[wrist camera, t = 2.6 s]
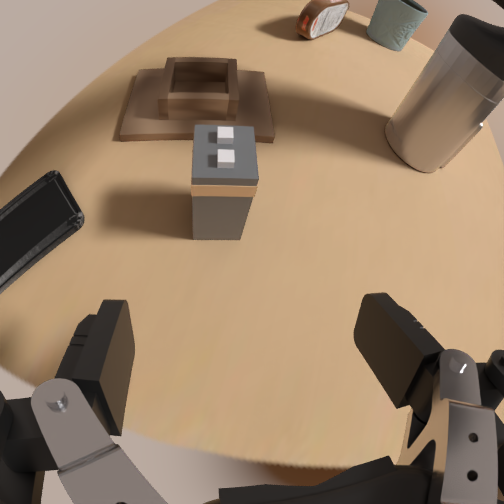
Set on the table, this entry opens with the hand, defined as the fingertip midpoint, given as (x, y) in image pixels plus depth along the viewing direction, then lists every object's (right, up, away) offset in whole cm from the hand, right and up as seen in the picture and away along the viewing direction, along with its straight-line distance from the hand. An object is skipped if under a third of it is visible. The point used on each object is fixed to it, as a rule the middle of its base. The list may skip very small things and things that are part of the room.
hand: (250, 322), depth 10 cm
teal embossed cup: (+28, +47, +40) cm, 68 cm away
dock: (-6, +19, +22) cm, 30 cm away
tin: (+12, +41, +35) cm, 56 cm away
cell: (-3, +5, +17) cm, 18 cm away
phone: (-23, +3, +14) cm, 27 cm away
